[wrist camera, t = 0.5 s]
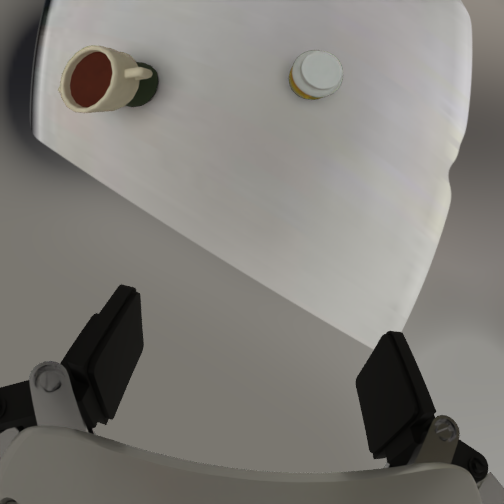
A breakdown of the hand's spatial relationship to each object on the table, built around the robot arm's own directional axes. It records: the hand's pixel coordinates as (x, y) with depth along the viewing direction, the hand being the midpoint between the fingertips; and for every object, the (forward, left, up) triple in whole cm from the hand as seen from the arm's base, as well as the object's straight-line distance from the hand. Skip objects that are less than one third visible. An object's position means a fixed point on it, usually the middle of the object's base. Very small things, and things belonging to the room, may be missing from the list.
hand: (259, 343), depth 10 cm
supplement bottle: (-11, -7, -30) cm, 33 cm away
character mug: (+7, -20, -30) cm, 37 cm away
